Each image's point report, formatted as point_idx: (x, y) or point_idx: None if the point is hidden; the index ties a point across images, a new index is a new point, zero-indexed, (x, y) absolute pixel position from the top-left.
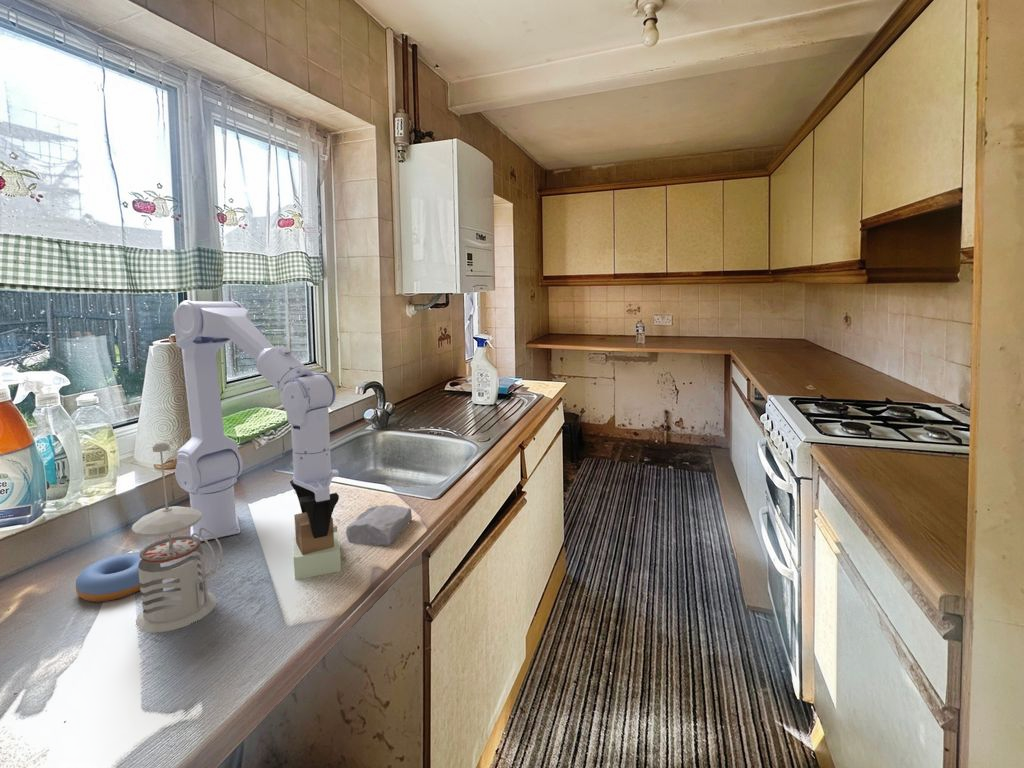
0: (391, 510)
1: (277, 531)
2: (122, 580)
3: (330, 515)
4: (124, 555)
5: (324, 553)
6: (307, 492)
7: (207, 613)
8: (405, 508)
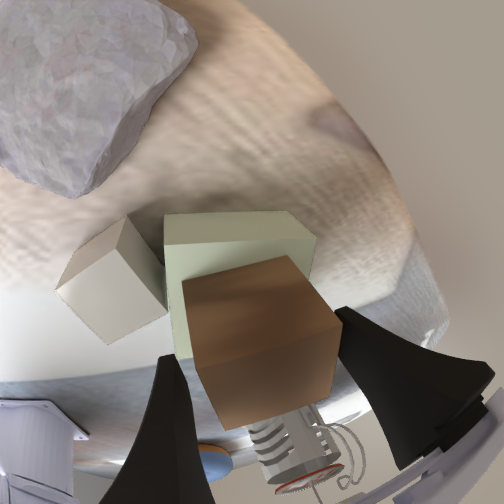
0: (13, 25)
1: (31, 353)
2: (229, 465)
3: (415, 346)
4: None
5: (307, 278)
6: (200, 483)
7: None
8: None
